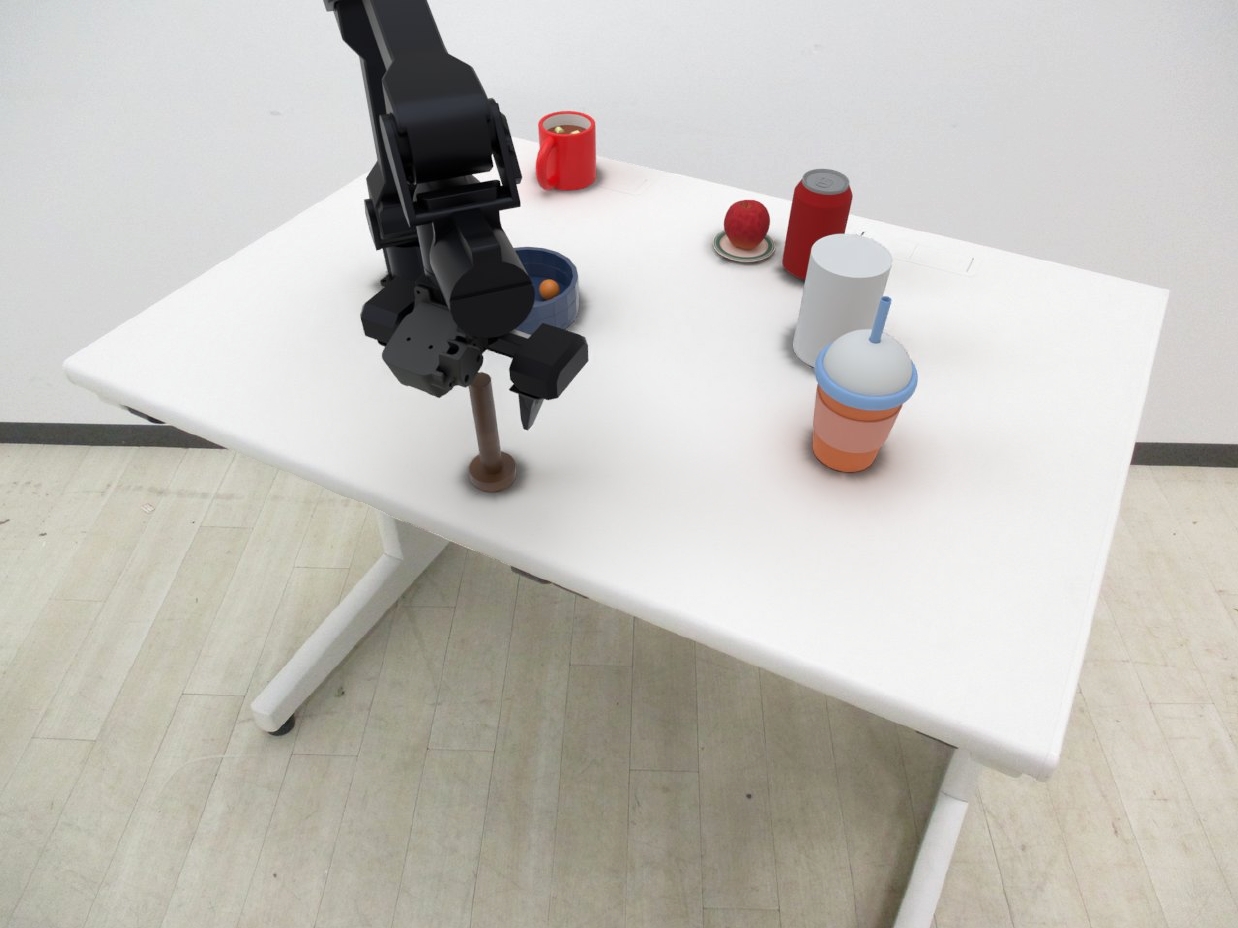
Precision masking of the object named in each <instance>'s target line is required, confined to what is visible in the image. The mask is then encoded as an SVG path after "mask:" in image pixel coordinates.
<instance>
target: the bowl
mask: <svg viewBox="0 0 1238 928" xmlns="http://www.w3.org/2000/svg"><path fill="white" fill-rule="evenodd" d="M513 248H514V250H515V252H516V254H517V255H518V257H519V259H520V261H521V263H522V265H523V266H524V268H525V270H526V272H527V274H528V275H529V277H530V279H531V281H532V283H533V286H534V289H535V301H534V305H533V308H532V311H531V312H530V314H529V315H528V317H527V319H526V320H525V321H524V322H523V323H522V324H521V325H520V326H519V327H517V328H516V329H514V330H517V331H520V332H523V333H526V334H529V335H532V334H533V333H534V332H535V330H536V329H537V328H538V327H539V326H540V325H541V324H542V323H545V324H549V325H552V326H555V327H558V328H561V329H564V330H566V329H567V328H569V326H570V325H571V324H572V323H574V321H575V320H576V318H577V316H578V314H579V309H580V289H579V288H580V286H579V283H580V282H579V273H578V269H577V266H576V265H575V264H574V263H573V261H572V260H571V259H570V258H568V257H567V256H566V255H563V254H562V253H561V252H558V251H557V250H556V251H555V250H553V249H548V248H545V247H538V246H537V247H536V246H520V247H519V246H518V247H513ZM548 279H550V280H554V281H555V282H556V283H557V284H558V285H559V289H560V292H559V295H558V296H556V297H554V298H553V299H551V300H545V299H544V298H542V297H541V295H540V293H539V287H540V284H541V283H542V282H543V281H545V280H548Z"/></svg>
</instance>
